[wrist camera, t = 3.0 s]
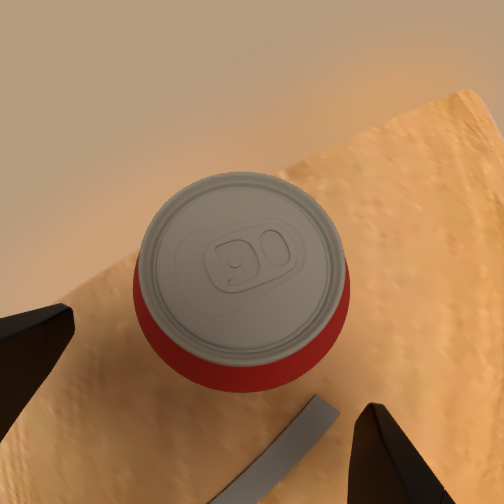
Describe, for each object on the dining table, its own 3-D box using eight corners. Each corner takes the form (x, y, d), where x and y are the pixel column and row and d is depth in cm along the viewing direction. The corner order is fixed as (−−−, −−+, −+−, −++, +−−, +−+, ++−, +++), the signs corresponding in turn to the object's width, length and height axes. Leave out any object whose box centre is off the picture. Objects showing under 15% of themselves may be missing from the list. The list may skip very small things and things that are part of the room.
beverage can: (171, 301, 19) (95, 196, 8) (270, 265, 21) (301, 132, 10) (208, 402, 17) (158, 433, 6) (312, 361, 18) (412, 324, 7)
